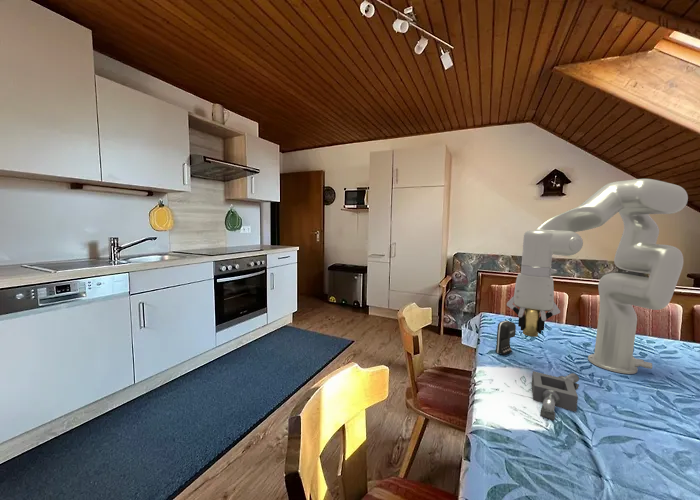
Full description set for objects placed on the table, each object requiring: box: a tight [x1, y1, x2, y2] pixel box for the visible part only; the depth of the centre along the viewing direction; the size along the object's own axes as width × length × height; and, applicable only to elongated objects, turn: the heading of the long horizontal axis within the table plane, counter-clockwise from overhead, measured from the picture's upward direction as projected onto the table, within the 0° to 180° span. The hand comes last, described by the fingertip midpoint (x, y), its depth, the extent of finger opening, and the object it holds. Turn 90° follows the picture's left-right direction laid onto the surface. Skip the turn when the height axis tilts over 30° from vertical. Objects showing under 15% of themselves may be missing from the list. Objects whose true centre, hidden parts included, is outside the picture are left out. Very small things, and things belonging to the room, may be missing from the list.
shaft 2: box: [558, 372, 580, 390], centre depth 84 cm, size 7×4×4 cm, turn 121°
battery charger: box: [495, 320, 517, 356], centre depth 107 cm, size 7×4×11 cm, turn 125°
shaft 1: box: [539, 389, 560, 421], centre depth 73 cm, size 7×4×4 cm, turn 141°
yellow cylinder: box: [522, 308, 541, 338], centre depth 90 cm, size 4×4×8 cm
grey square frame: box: [530, 371, 579, 413], centre depth 79 cm, size 9×9×4 cm
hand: (530, 330), depth 90 cm, fingers closed on yellow cylinder, 4 cm apart
